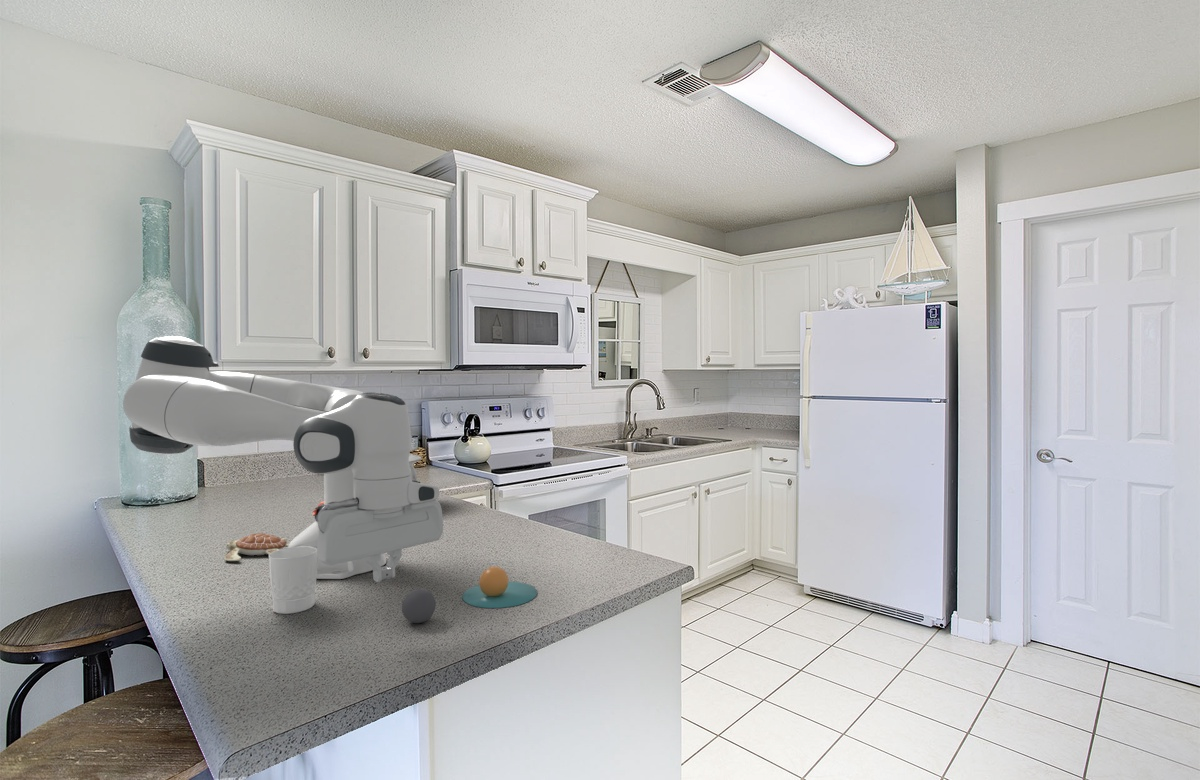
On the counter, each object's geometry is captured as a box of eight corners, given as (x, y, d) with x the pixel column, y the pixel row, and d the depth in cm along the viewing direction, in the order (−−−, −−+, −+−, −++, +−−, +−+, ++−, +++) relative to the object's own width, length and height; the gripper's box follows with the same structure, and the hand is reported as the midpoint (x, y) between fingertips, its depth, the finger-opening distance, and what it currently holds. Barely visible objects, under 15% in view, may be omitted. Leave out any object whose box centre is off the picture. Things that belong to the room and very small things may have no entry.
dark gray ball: (426, 577, 103) (444, 596, 105) (398, 588, 103) (417, 607, 106) (420, 604, 98) (439, 623, 101) (392, 615, 99) (411, 634, 101)
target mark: (493, 614, 105) (493, 613, 105) (447, 595, 115) (447, 594, 115) (552, 593, 116) (552, 592, 116) (505, 577, 125) (505, 576, 125)
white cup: (281, 600, 113) (280, 546, 113) (324, 598, 113) (324, 545, 113) (261, 616, 105) (260, 559, 105) (308, 614, 106) (307, 557, 105)
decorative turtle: (252, 543, 155) (252, 524, 155) (313, 545, 153) (313, 525, 153) (198, 564, 137) (198, 542, 137) (267, 566, 135) (266, 544, 135)
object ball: (513, 578, 118) (499, 604, 115) (489, 565, 118) (474, 591, 116) (514, 571, 113) (498, 599, 110) (488, 558, 114) (472, 584, 111)
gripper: (327, 507, 87) (328, 602, 87) (447, 487, 103) (448, 568, 103) (308, 501, 91) (310, 592, 92) (426, 483, 107) (427, 560, 107)
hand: (384, 579), depth 97 cm, fingers closed
